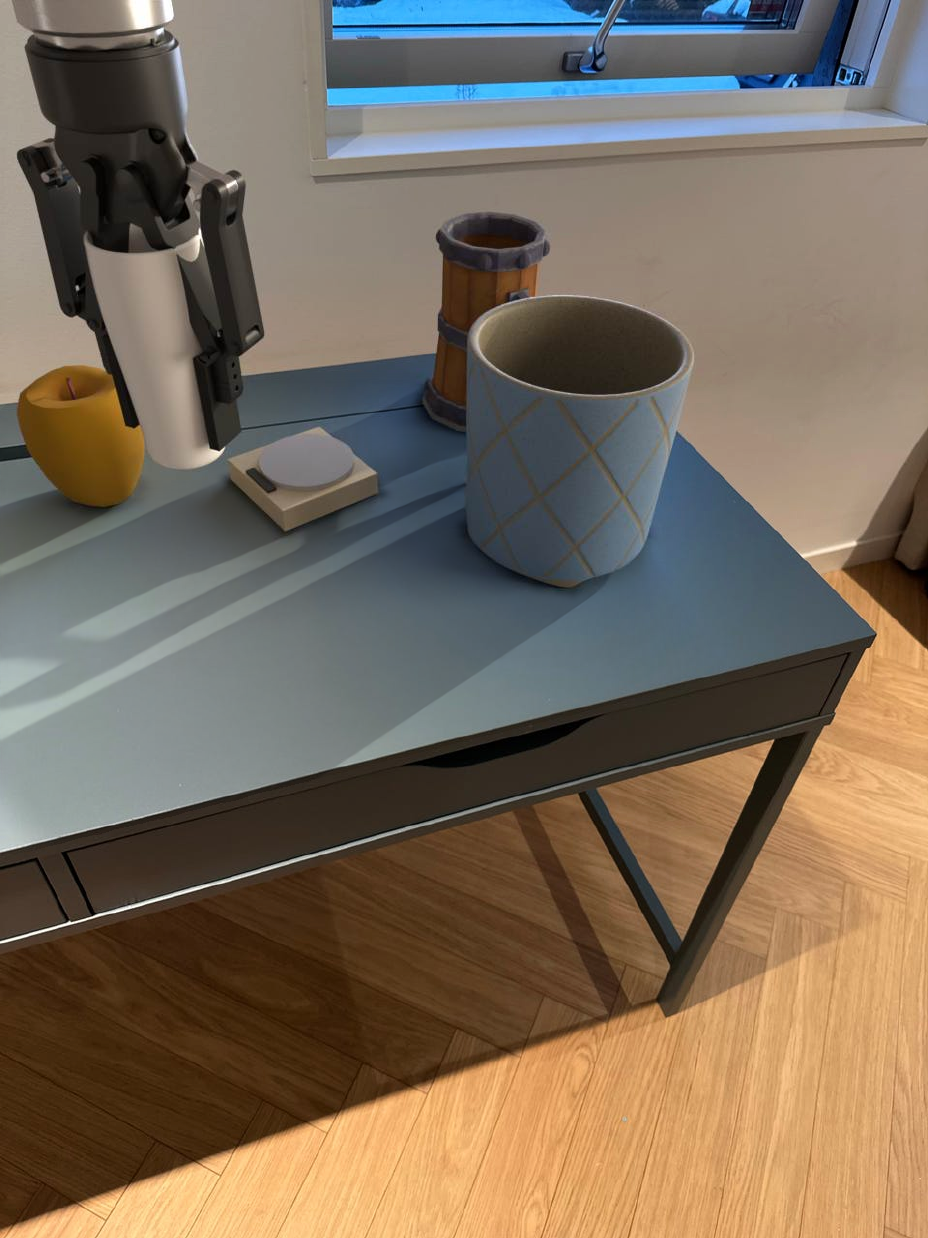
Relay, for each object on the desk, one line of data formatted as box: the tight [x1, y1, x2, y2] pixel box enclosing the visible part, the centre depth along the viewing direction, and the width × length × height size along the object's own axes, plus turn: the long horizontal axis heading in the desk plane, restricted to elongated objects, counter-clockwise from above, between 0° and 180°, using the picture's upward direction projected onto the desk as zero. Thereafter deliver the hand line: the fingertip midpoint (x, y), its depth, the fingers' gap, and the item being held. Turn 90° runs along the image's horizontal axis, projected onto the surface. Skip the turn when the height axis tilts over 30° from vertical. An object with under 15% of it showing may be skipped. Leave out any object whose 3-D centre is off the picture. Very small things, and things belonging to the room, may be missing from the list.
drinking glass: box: [83, 218, 226, 471], centre depth 58 cm, size 7×7×15 cm
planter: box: [465, 294, 695, 589], centre depth 83 cm, size 19×19×20 cm
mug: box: [421, 211, 551, 433], centre depth 99 cm, size 19×14×20 cm
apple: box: [16, 364, 146, 508], centre depth 87 cm, size 11×11×13 cm
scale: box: [227, 426, 379, 532], centre depth 93 cm, size 11×11×3 cm
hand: (183, 428), depth 62 cm, fingers closed on drinking glass, 6 cm apart
